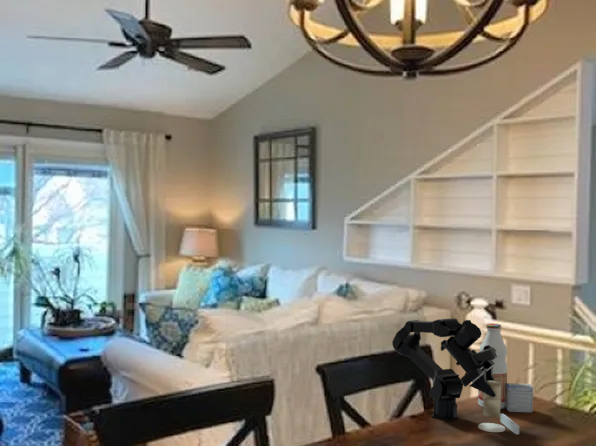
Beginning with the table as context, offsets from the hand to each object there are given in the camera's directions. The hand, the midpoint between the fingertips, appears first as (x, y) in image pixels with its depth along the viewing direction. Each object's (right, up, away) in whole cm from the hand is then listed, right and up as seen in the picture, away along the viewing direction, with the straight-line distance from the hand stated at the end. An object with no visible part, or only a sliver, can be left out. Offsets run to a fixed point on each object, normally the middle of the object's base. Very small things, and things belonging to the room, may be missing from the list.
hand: (496, 394), depth 204 cm
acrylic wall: (+4, -11, +1) cm, 12 cm away
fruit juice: (+6, -11, +25) cm, 28 cm away
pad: (-1, -11, +1) cm, 11 cm away
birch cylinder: (-1, -7, +1) cm, 7 cm away
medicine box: (+13, -11, +20) cm, 26 cm away
